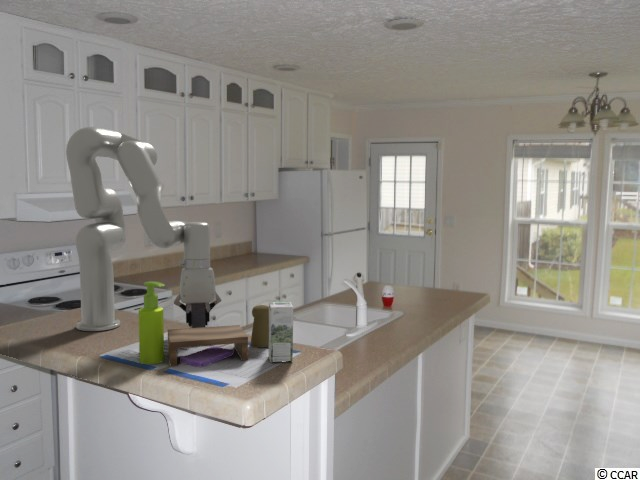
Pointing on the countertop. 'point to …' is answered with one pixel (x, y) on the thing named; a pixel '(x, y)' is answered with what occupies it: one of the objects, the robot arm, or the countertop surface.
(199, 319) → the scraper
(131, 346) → the countertop surface
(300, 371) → the countertop surface
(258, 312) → the cork
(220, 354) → the sponges
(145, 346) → the soap dispenser
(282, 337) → the syrup box
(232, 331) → the low shelf
